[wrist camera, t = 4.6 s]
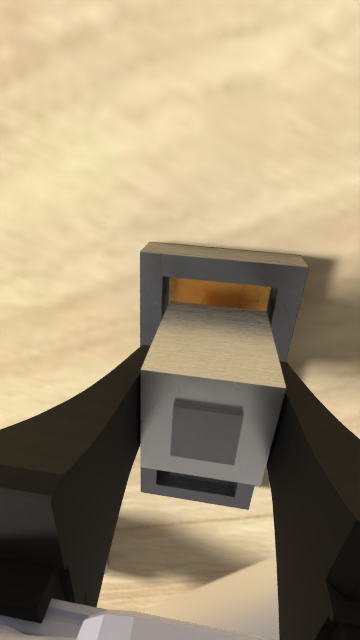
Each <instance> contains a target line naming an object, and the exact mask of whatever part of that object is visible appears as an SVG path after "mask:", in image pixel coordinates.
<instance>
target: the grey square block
mask: <svg viewBox="0 0 360 640" xmlns="http://www.w3.org/2000/svg"><path fill="white" fill-rule="evenodd" d="M285 391H286V385H285V382H284V378H283V374H282V370H281V366H280V362H279V358H278V354H277V350H276V346H275V342H274V338H273V335H272V331H271V327H270V323H269V319H268V315H267V311H261V310H251V309H242V308H232V307H223V306H214V305H204V304H195V303H185V302H176V301H170V302H169V304H168V306H167V309H166V311H165V313H164V316H163V318H162V320H161V323H160V325H159V328H158V330H157V332H156V335H155V337H154V339H153V342H152V344H151V346H150V349H149V351H148V353H147V356H146V358H145V361H144V363H143V365H142V368H141V467H143V468H149V469H156V470H162V471H168V472H175V473H181V474H187V475H194V476H200V477H206V478H213V479H219V480H225V481H232V482H238V483H244V484H250V485H257V486H261V484H262V480H263V476H264V472H265V468H266V465H267V461H268V457H269V453H270V449H271V445H272V441H273V438H274V434H275V430H276V426H277V422H278V418H279V414H280V410H281V407H282V403H283V399H284V395H285Z"/></svg>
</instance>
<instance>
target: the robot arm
mask: <svg viewBox="0 0 360 640" xmlns="http://www.w3.org/2000/svg"><path fill="white" fill-rule="evenodd" d="M149 349H150V346H149V345H142V346H141V347H139V348H138V349H137V350H136V351H135V352H134V353H132V354H131V355H130V356H129V357H128V358H127V359H126V360H124V361H123V362H122V363H121V364H120V365H118V366H117V367H116V368H115V369H113V370H112V371H111V372H110V373H109V374H107V375H106V376H105V377H103V378H102V379H100V380H99V381H98V382H96V383H95V384H93V385H92V386H91V387H89V388H88V389H86V390H84V391H83V392H81V393H79V394H78V395H76V396H74V397H73V398H71V399H69V400H67V401H65V402H63V403H61V404H59V405H57V406H55V407H53V408H51V409H49V410H47V411H45V412H43V413H41V414H39V415H37V416H34V417H32V418H30V419H27V420H25V421H22V422H20V423H17V424H14V425H12V426H9V427H6V428H4V429H1V430H0V640H273V639H268V638H263V637H258V636H253V635H248V634H243V633H238V632H233V631H228V630H223V629H218V628H214V627H209V626H204V625H199V624H194V623H189V622H184V621H179V620H174V619H169V618H164V617H160V616H155V615H149V614H145V613H140V612H133V611H120V610H106V609H101V608H96V607H97V602H98V598H99V594H100V589H101V585H102V581H103V576H104V574H106V572H107V569H108V567H107V559H108V555H109V551H110V547H111V543H112V539H113V535H114V531H115V527H116V523H117V519H118V515H119V511H120V507H121V503H122V500H123V496H124V492H125V489H126V485H127V481H128V477H129V474H130V471H131V468H132V465H133V462H134V460H135V457H136V454H137V452H138V449H139V447H140V444H141V368H142V365H143V363H144V361H145V358H146V356H147V353H148V351H149ZM279 362H280V366H281V370H282V374H283V378H284V382H285V385H286V391H285V395H284V399H283V403H282V407H281V410H280V414H279V418H278V422H277V426H276V430H275V434H274V438H273V441H272V445H271V449H270V453H269V457H268V461H267V469H268V475H269V480H270V486H271V493H272V502H273V515H274V528H275V544H276V561H277V581H278V602H279V634H280V640H360V439H359V438H358V437H357V436H355V435H354V434H353V433H352V432H351V431H350V430H348V429H347V428H346V427H345V426H344V425H343V424H342V423H341V422H340V421H339V420H338V419H337V418H336V417H335V416H334V415H333V414H332V413H331V412H330V411H329V410H328V409H327V408H326V407H325V406H324V405H323V404H322V403H321V402H320V401H319V400H318V399H317V398H316V397H315V396H314V394H313V393H312V392H311V391H310V390H309V389H308V387H307V386H306V385H305V384H304V383H303V382H302V380H301V379H300V378H299V377H298V376H297V374H296V373H295V372H294V371H293V369H292V368H291V367H290V366H289V365H288V363H287V362H282V361H279Z"/></svg>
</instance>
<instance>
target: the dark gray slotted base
mask: <svg viewBox="0 0 360 640" xmlns="http://www.w3.org/2000/svg"><path fill="white" fill-rule="evenodd" d="M308 269H309V267H308V265H307V264H306V263H305V261H304V260H303V259H302V257H301V256H300V255H290V254H279V253H268V252H257V251H245V250H234V249H223V248H211V247H200V246H189V245H177V244H166V243H155V242H149V243H148V244H147V245H146V246H145V247H144V248H143V249H142V250H141V251H140V347H141V346H142V345H149V346H151V344H152V342H153V339H154V337H155V335H156V332H157V330H158V328H159V325H160V323H161V320H162V318H163V316H164V313H165V311H166V309H167V306H168V304H169V302H170V301H176V302H185V303H195V304H204V305H214V306H223V307H232V308H242V309H251V310H261V311H267V315H268V319H269V323H270V327H271V331H272V335H273V338H274V342H275V346H276V350H277V354H278V358H279V361H282V362H285V361H286V357H287V353H288V349H289V345H290V341H291V337H292V333H293V329H294V325H295V321H296V317H297V313H298V309H299V305H300V301H301V297H302V293H303V289H304V285H305V281H306V277H307V273H308ZM254 486H255V485H250V484H244V483H238V482H232V481H225V480H219V479H213V478H206V477H200V476H194V475H187V474H181V473H175V472H168V471H162V470H156V469H149V468H143V467H141V492H144V493H150V494H156V495H162V496H168V497H174V498H180V499H186V500H192V501H199V502H205V503H211V504H217V505H223V506H229V507H235V508H241V509H247V510H249V506H250V502H251V498H252V494H253V490H254Z"/></svg>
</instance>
